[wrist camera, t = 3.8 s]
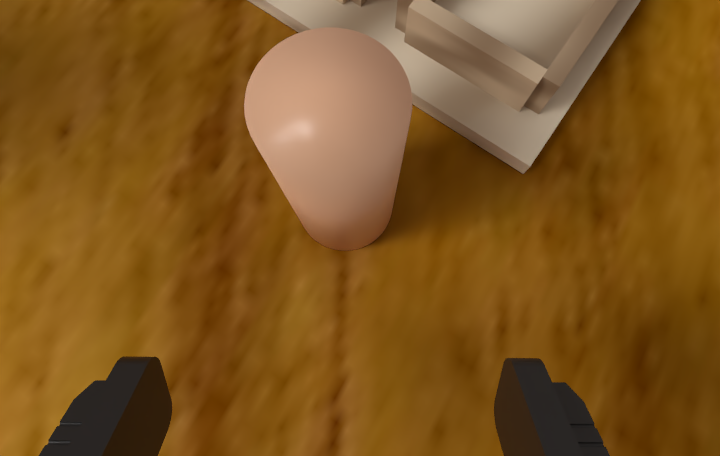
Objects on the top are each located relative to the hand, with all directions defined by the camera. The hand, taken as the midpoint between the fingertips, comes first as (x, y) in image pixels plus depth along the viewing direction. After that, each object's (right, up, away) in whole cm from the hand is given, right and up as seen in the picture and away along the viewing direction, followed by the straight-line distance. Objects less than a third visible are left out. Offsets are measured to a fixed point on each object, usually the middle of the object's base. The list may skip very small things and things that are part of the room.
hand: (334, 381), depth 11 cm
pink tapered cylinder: (0, +5, +11) cm, 12 cm away
